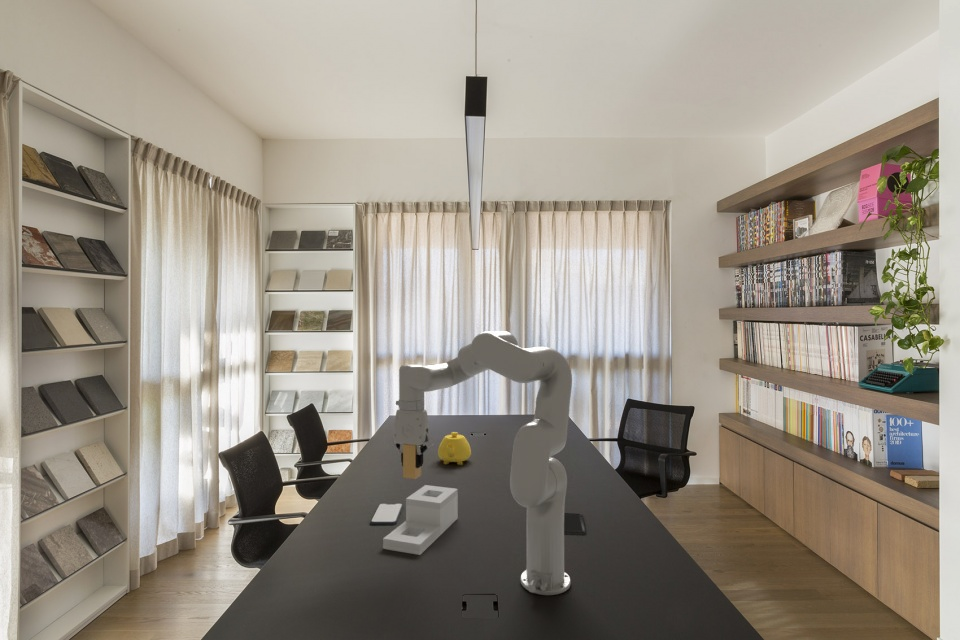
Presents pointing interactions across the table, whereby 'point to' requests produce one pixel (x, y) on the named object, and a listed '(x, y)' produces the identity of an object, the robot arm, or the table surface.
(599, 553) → the table surface
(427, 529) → the white stepped socket block
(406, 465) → the plug
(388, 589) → the table surface
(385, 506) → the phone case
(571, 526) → the phone
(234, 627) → the table surface
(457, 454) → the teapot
